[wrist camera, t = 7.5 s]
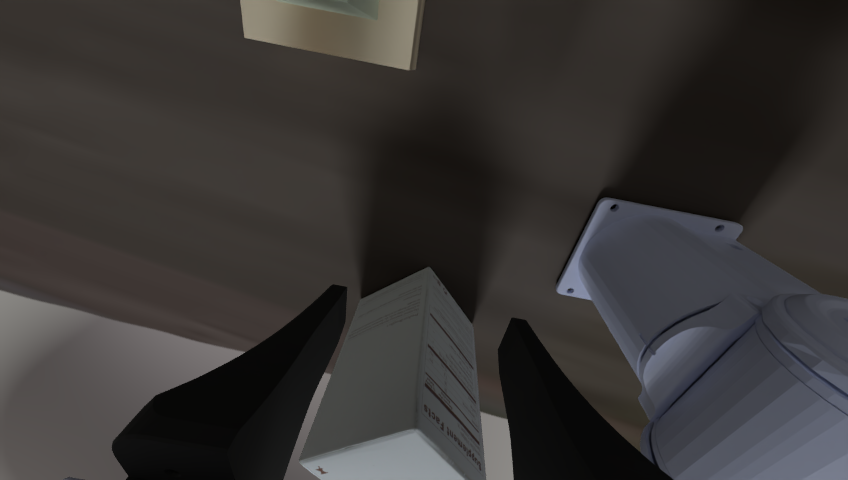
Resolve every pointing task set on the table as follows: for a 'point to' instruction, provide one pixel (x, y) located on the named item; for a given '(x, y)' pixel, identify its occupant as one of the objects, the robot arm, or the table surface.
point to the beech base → (340, 30)
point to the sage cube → (342, 6)
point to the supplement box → (402, 392)
